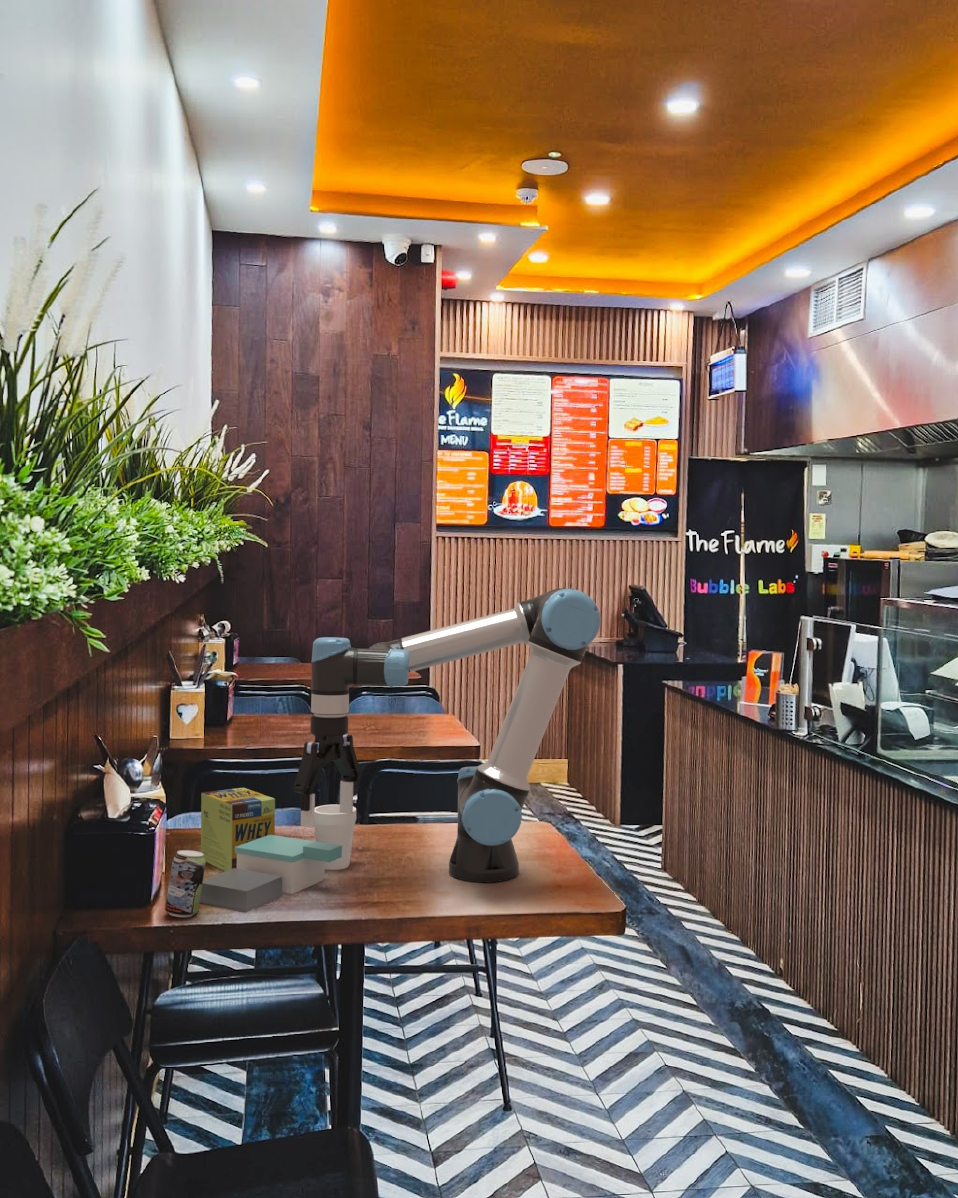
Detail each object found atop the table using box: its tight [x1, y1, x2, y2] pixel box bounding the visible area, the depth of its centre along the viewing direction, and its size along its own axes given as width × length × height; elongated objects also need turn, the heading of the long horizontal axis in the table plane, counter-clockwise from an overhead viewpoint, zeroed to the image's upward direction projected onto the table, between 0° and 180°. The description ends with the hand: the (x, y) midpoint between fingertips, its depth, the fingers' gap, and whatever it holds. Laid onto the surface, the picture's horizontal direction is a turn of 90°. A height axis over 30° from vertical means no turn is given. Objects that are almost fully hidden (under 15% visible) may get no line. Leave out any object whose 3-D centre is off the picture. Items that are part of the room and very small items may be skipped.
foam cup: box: [313, 804, 357, 871], centre depth 230 cm, size 10×9×13 cm
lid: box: [235, 835, 342, 863], centre depth 217 cm, size 21×12×3 cm, turn 64°
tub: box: [237, 853, 325, 895], centre depth 218 cm, size 14×11×7 cm
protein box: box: [200, 787, 276, 872], centre depth 232 cm, size 10×15×16 cm
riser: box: [199, 868, 283, 913], centre depth 207 cm, size 12×11×4 cm
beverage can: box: [164, 849, 207, 918], centre depth 198 cm, size 6×7×12 cm
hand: (327, 819), depth 213 cm, fingers open, 13 cm apart
